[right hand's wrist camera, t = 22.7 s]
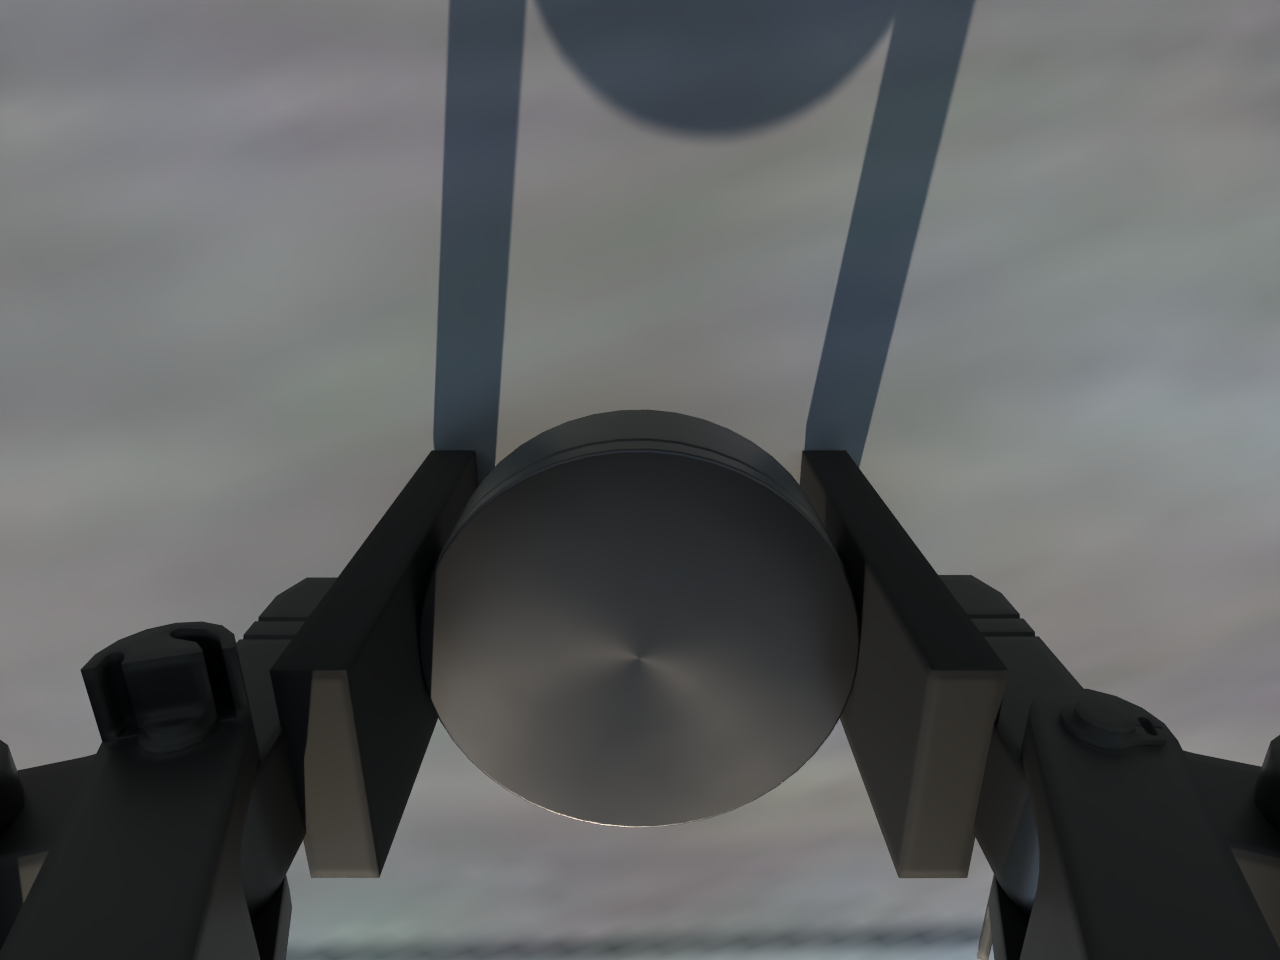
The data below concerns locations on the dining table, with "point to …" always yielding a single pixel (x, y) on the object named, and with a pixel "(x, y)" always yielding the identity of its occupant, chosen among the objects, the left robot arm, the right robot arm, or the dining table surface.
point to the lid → (639, 622)
